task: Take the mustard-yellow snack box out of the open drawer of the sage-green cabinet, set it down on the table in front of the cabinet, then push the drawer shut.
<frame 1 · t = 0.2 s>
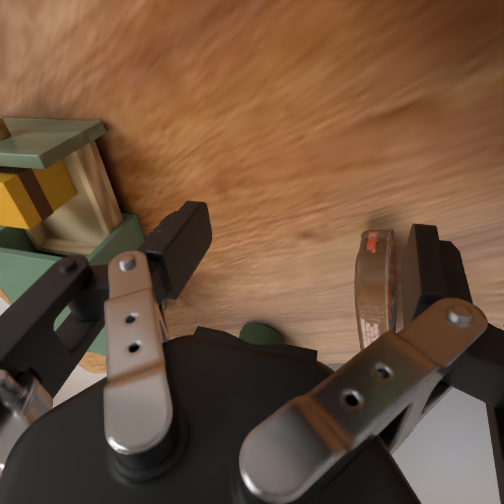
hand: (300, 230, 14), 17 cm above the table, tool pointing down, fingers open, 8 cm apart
drawer: (41, 198, 36), point 5 cm above the table, slide at 9.5 cm, touching snack box
character mug: (264, 333, 48), on the table
snack box: (52, 172, 37), point 2 cm above the table, touching drawer
tin: (379, 272, 35), on the table
cabinet: (105, 258, 47), on the table
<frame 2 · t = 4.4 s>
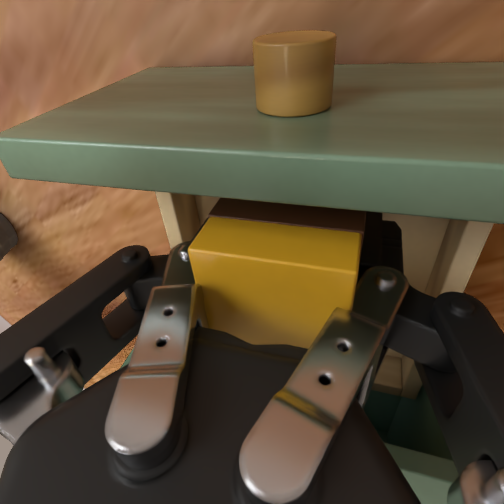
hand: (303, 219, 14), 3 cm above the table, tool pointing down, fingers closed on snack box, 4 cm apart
drawer: (297, 272, 14), point 5 cm above the table, slide at 9.5 cm, touching snack box
snack box: (309, 203, 15), point 2 cm above the table, touching drawer, gripper
cabinet: (307, 352, 25), on the table
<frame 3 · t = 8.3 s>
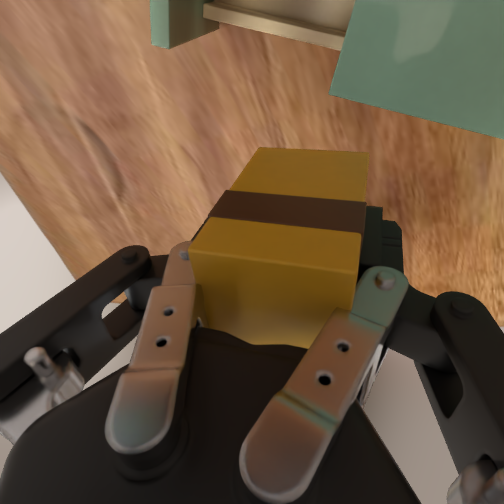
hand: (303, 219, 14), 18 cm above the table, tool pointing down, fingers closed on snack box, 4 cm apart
snack box: (309, 203, 15), point 16 cm above the table, touching gripper
when the fingers open (1 cm above the table, at t = 12.4 s): snack box stays where it is, on the table.
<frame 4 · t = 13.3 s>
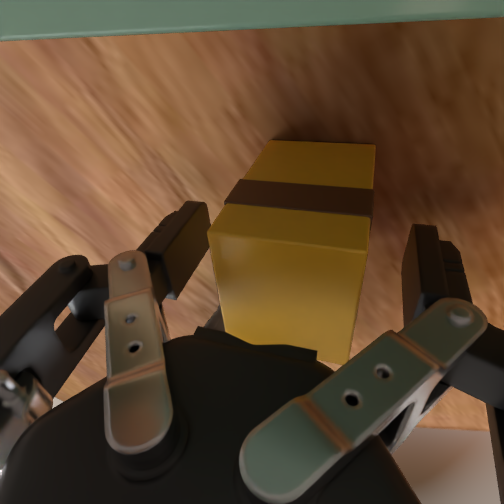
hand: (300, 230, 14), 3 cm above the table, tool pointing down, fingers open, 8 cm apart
snack box: (317, 194, 16), on the table
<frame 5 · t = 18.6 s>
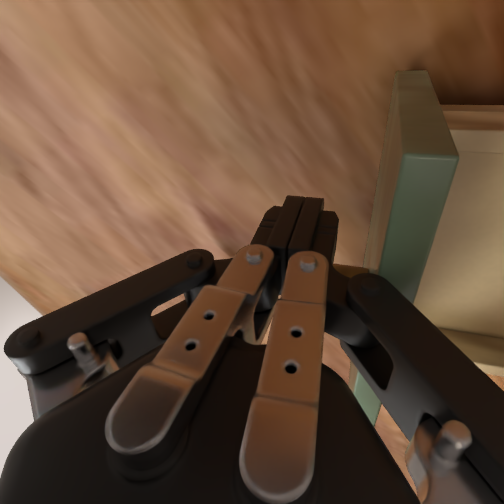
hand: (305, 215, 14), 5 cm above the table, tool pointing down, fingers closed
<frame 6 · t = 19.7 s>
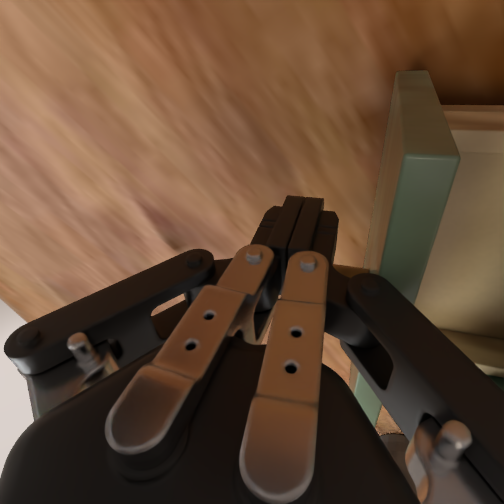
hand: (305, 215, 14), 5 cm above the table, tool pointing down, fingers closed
beverage cup: (401, 444, 33), on the table
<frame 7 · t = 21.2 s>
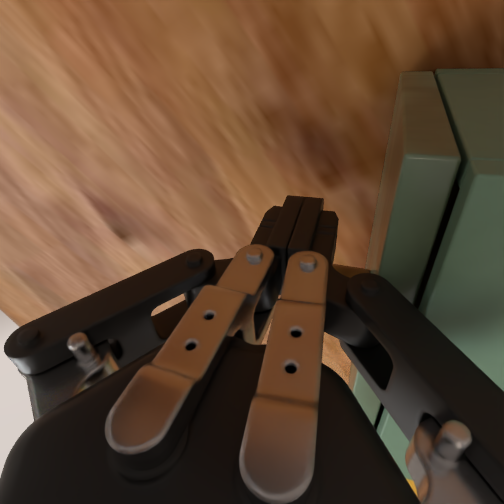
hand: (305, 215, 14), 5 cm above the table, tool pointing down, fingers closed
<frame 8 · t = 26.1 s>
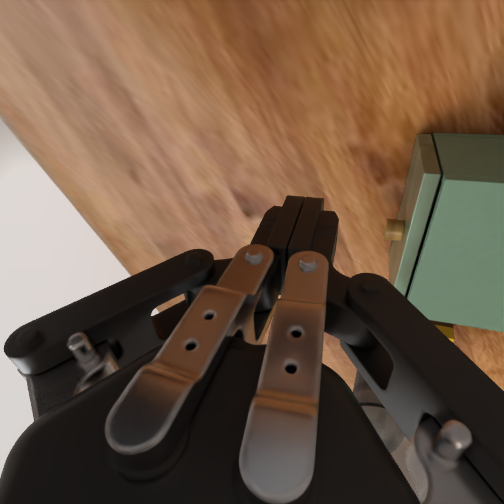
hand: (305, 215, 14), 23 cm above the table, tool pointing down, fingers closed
drawer: (483, 232, 32), point 5 cm above the table, slide at 0.0 cm
beverage cup: (377, 344, 52), on the table
cabinet: (501, 209, 35), on the table
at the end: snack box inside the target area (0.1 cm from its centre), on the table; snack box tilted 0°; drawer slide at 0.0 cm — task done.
